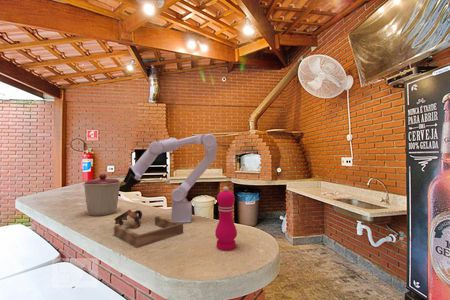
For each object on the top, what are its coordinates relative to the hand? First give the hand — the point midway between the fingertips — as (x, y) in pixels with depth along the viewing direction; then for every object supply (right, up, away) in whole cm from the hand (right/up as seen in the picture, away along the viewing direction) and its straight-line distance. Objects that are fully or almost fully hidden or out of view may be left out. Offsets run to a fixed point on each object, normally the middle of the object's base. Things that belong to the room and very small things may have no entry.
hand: (125, 185), depth 107 cm
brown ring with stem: (+5, -17, -7) cm, 19 cm away
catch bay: (+17, -16, -18) cm, 29 cm away
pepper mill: (+47, -16, -31) cm, 58 cm away
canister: (-19, -17, +15) cm, 30 cm away
